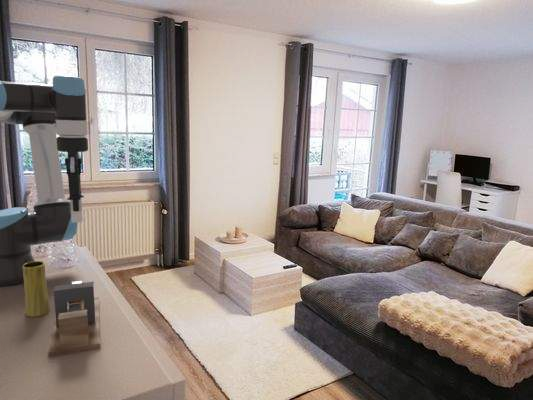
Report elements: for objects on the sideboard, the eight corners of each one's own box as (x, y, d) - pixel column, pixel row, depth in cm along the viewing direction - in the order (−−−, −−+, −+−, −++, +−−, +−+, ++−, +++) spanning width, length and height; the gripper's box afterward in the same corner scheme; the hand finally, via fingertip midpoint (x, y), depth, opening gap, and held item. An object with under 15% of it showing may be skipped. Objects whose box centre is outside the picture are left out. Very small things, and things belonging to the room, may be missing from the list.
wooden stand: (58, 306, 116) (55, 277, 114) (98, 300, 120) (97, 272, 118) (48, 357, 91) (45, 321, 90) (100, 347, 96) (98, 313, 94)
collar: (57, 322, 103) (54, 286, 101) (95, 316, 107) (93, 281, 105) (56, 327, 100) (53, 290, 98) (95, 321, 104) (93, 286, 102)
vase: (38, 318, 108) (34, 269, 106) (19, 315, 110) (14, 266, 107) (54, 308, 114) (51, 261, 112) (36, 305, 116) (32, 259, 113)
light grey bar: (72, 290, 115) (71, 281, 114) (83, 289, 116) (82, 280, 115) (67, 327, 95) (66, 316, 94) (80, 325, 96) (80, 314, 95)
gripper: (58, 134, 110) (64, 216, 115) (53, 137, 99) (59, 228, 103) (88, 135, 113) (92, 215, 118) (86, 138, 101) (91, 227, 106)
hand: (77, 221), depth 111 cm, fingers closed
